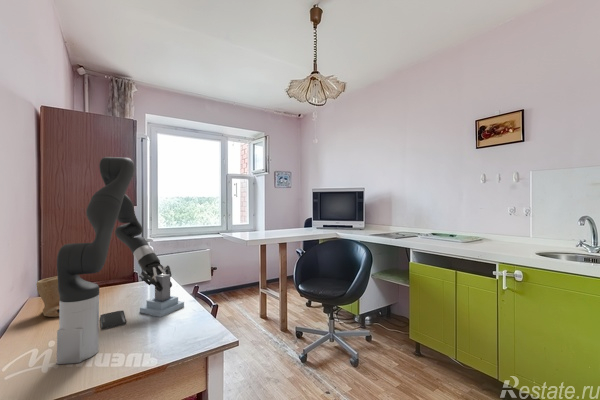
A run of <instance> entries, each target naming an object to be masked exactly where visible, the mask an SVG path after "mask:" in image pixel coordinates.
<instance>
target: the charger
mask: <svg viewBox="0 0 600 400" xmlns="http://www.w3.org/2000/svg"><path fill="white" fill-rule="evenodd" d="M157 279H158V282H160V284H161V286H162V287H163V290H162V291H160V292H159V291H158V290H157V289H156V288H155V287H154V298H155V300H160V301H164V300H166V299H169V298H170V296H171V288H170V281H171V277H170V275H169V274H160V275H157Z"/></svg>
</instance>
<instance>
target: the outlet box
mask: <svg viewBox="0 0 600 400" xmlns="http://www.w3.org/2000/svg"><path fill="white" fill-rule="evenodd" d="M184 307H185V301H179V297H178V296H174V295H170V298H169V299H166V300H164V301H160V300H155V297H153V298H151V299H148V300H146V304H145V305H143V306H140V307H139V313H140V314H141V313H142V314H144V315H145V314H146V315H150V316H154V317H158V318H161V317H163V316H166V315H168V314H170V313H173V312H175V311H177V310H180V309H182V308H184Z"/></svg>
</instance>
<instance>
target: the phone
mask: <svg viewBox="0 0 600 400" xmlns="http://www.w3.org/2000/svg"><path fill="white" fill-rule="evenodd" d="M99 322H100V329H101V330H102V331H105V330H108V329H113V328H117V327H121V326H125V325H127V322H128V321H127V318H126V315H125V312H124V310H117V311H113V312H106V313H102V314H99Z"/></svg>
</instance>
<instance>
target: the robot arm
mask: <svg viewBox="0 0 600 400" xmlns="http://www.w3.org/2000/svg"><path fill="white" fill-rule="evenodd" d="M135 168H136V167H135V163H134V161H133V160H132V159H131V158H130V157H121V156H119V157H117V156H116V157H114V156H105V157H104V156H103V157H102V158H101V159H100V161H99V173H100V176H101V178H102V181H103V183H104V185H105V186H103V187H102V188H100V189H99V190H98V191H96V192H95V193H94V194H92V197H91V199H90V201H89V203H88V206H87V208H86V211H85V214H86V216H87V220H88V222H89V223H90V224H91V226H92V227H93V230H94V233H95V238H94V240H93V241H92V242H82V243H81V242H80V243H79V242H77V243H76V242H75V243H66V244H64V245H62V246H61V248H60V249H59V250H58V252H57V257H56V274H57V275H56V276H57V277H58V292H59V296H60V308H59V316H58V317H59V318H58V323H59V324H58V329H57V331H56V365H64V364H65V365H66V364H80V363H82V362H83V361H85V360H87V359H89V358H91V357H94V356H95V355H96V354H97V353H99V351H100V350H99V349H100V348H99V347H100V285H98V283H95V282H92V281H89V280H88V281H87V280H85V279H83V278H82V277H81V276H80V275H92V274H96V273H97V274H98V273H99V272H101V271H102V269H103V268H104V267H105V266H104V265H105V264H106V261H107V257H108V253H109V247H110V243H111V239H112V235H113V231H114V229H115V231H114V234H115V236H116V237H117V239H118V240H119V241H120V242H122V243H123V244H124V245H126V246H127V247H128V248H129V250H130V251H131V253H132V254H133V256H134V259H135V261H136V262H137V264H138V265H139V267H140V268H141V271H142V272H141V273H140V274H139V276H138V277H139V278H140V279H141V280H142V281H144V283H145V284H147V285H148V286H151V285H153V286H154V289H155V288H156V289H157V290H158V291H159V292H160V291H162V290H163V287H162V286H161V284H160V282H158V279H157V275H160V274H169V275H170V278H171V277H172V275H173V274H172V271H171V268H170V265H166V266H163V264H161V261H160V258H159V257H158V256H157V254H156V253H155V251H154V249H153V248H152V247H151V246H150V245H149V243H148V241H147V240H146V239H145V237H143V236H140V235H142V233H143V230H144V229H143V226H142V224H141V223H140V221H139V220H138V218H137V215H136V211H135V207H134V203H133V201H132V200H131V198H130V197H129V196H128V195H127V194H126V193H127V192H126V191H127V189H128V187H129V186H130V184H131V181H132V179H133V177H134V173H135ZM117 221H118V223H121V225H119V226H117V227H116V228H115V225H116V222H117ZM172 287H173V283H172V282H171V280H170V289H171V288H172Z"/></svg>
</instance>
